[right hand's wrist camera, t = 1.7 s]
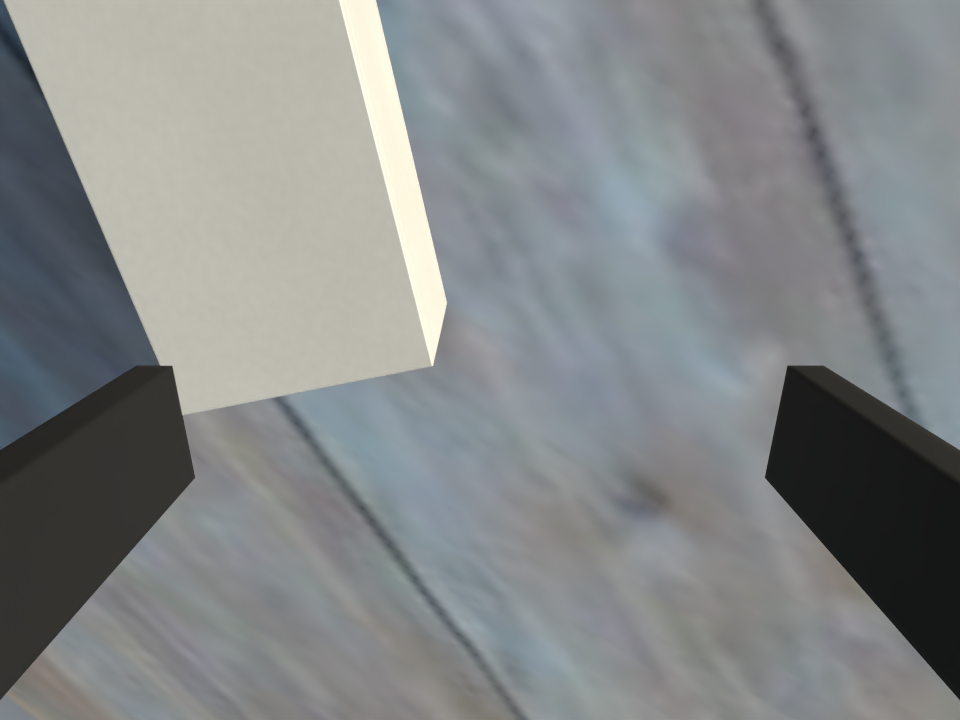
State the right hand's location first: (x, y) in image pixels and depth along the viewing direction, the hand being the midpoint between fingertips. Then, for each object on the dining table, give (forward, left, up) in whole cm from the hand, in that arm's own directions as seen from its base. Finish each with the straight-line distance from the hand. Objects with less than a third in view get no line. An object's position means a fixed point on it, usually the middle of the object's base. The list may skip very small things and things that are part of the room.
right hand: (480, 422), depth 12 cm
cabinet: (+1, +11, -20) cm, 23 cm away
